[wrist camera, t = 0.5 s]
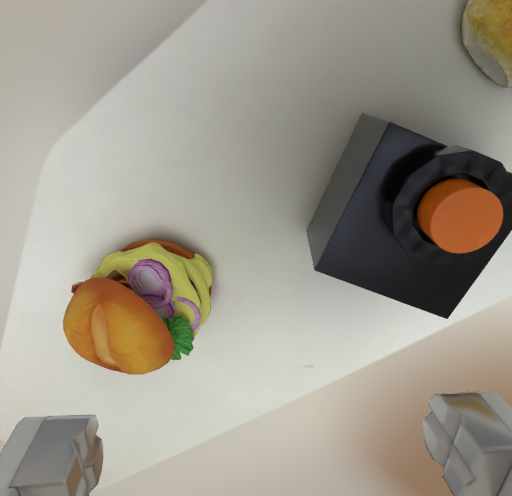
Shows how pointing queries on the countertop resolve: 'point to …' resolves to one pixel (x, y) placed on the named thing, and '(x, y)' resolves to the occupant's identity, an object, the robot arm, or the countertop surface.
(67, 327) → the cheeseburger
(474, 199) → the orange button cap
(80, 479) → the robot arm
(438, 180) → the black push button box
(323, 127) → the countertop surface
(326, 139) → the countertop surface
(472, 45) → the bread roll
